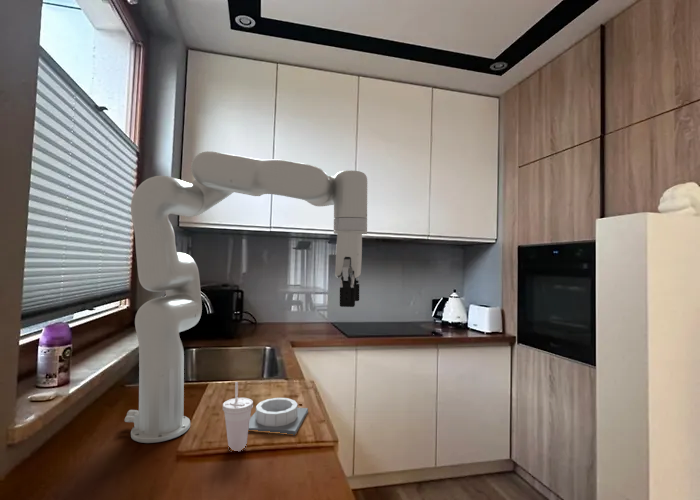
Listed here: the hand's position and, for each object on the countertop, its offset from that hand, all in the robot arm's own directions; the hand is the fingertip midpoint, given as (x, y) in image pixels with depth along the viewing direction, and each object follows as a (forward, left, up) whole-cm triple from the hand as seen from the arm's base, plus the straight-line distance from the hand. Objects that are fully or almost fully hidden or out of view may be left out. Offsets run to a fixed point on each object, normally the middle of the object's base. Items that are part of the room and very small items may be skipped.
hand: (350, 303), depth 85 cm
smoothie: (-24, -5, -31) cm, 40 cm away
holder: (-19, +9, -31) cm, 38 cm away
